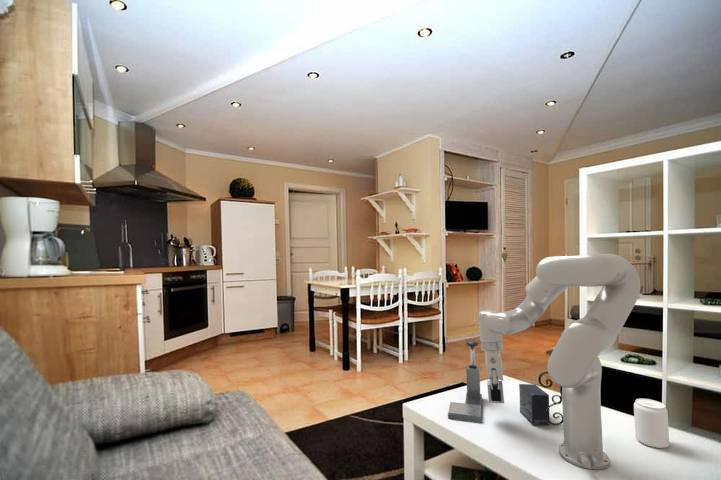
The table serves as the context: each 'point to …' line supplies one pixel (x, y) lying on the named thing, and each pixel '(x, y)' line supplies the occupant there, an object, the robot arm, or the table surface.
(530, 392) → the small box
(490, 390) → the housing
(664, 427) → the white cylindrical container
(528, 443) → the table surface
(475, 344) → the plunger
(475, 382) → the press
